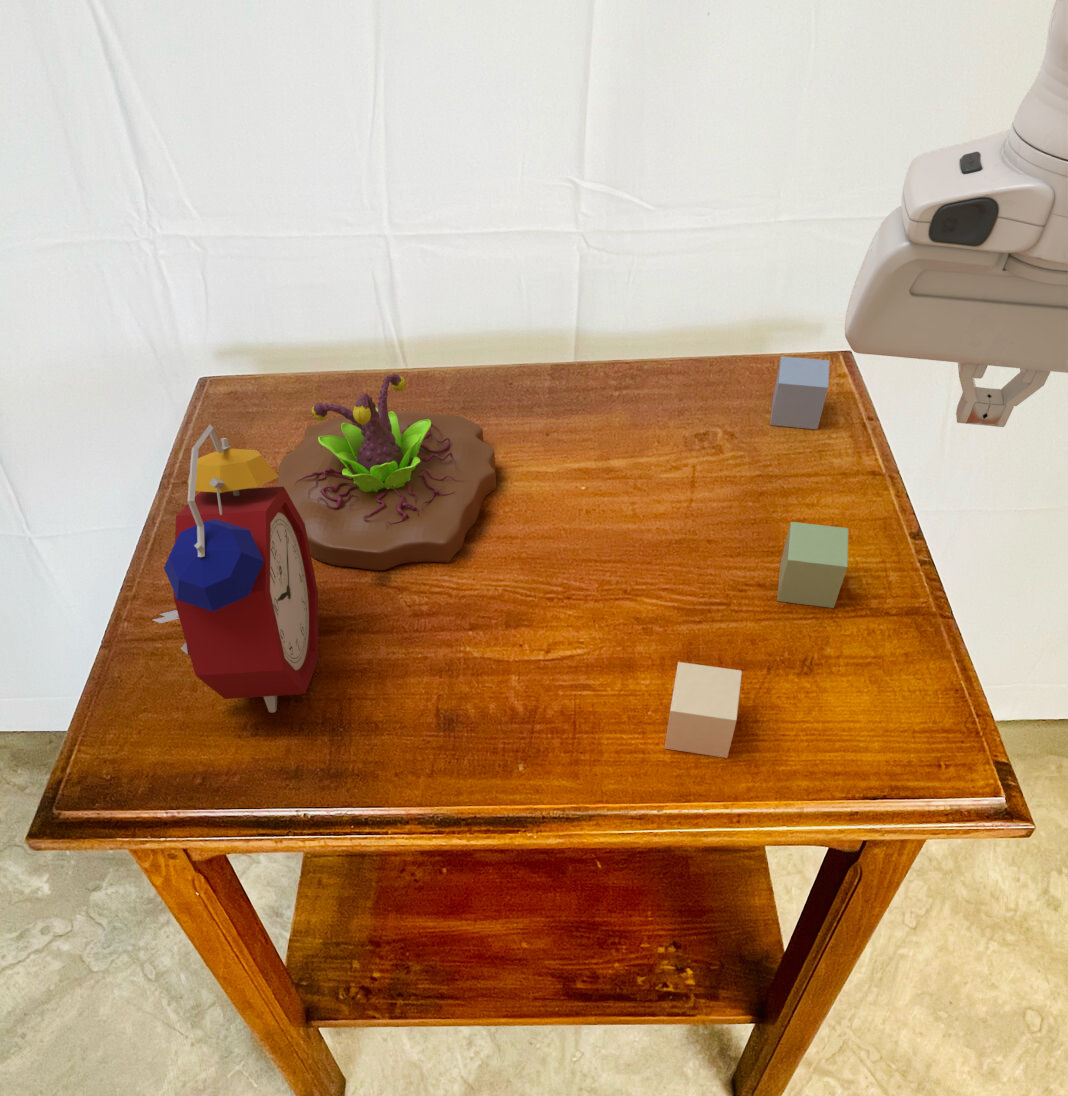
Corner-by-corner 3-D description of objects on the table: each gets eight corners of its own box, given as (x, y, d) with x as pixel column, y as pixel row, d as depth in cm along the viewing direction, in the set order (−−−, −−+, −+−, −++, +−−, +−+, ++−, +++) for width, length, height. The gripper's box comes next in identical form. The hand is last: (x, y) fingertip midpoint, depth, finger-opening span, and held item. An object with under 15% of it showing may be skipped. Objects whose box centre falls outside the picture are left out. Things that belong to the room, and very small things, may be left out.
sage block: (780, 563, 75) (790, 521, 72) (835, 570, 75) (848, 527, 71) (776, 601, 73) (787, 559, 69) (833, 608, 72) (847, 566, 69)
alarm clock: (312, 735, 67) (228, 523, 50) (195, 742, 67) (74, 532, 50) (328, 593, 75) (261, 373, 59) (225, 599, 75) (129, 381, 59)
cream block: (672, 700, 67) (678, 661, 64) (732, 709, 67) (742, 670, 63) (664, 748, 65) (670, 710, 61) (727, 758, 64) (736, 720, 60)
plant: (249, 565, 78) (206, 455, 68) (308, 428, 89) (277, 317, 80) (478, 577, 76) (465, 466, 67) (508, 436, 87) (500, 324, 78)
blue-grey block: (772, 398, 89) (781, 355, 85) (819, 402, 88) (829, 360, 85) (769, 425, 87) (778, 382, 83) (817, 430, 86) (828, 387, 82)
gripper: (1273, 181, 48) (1139, 408, 60) (883, 156, 51) (825, 378, 63) (1305, 237, 45) (1156, 467, 56) (883, 207, 48) (822, 432, 59)
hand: (979, 420), depth 59 cm, fingers closed
